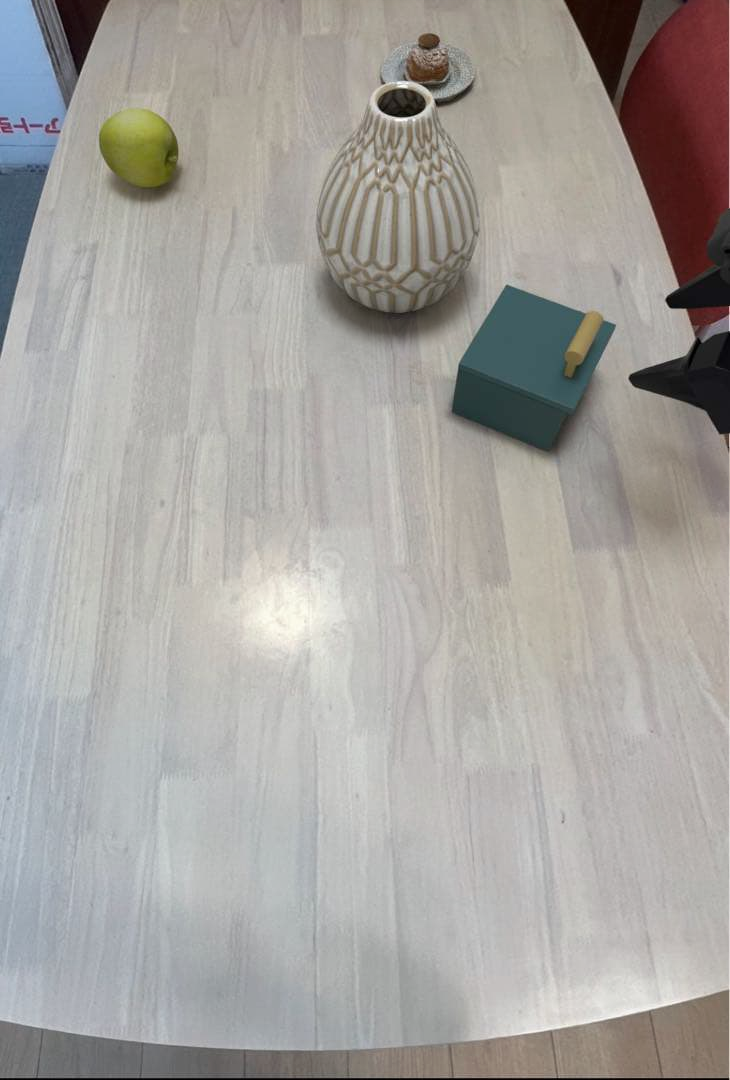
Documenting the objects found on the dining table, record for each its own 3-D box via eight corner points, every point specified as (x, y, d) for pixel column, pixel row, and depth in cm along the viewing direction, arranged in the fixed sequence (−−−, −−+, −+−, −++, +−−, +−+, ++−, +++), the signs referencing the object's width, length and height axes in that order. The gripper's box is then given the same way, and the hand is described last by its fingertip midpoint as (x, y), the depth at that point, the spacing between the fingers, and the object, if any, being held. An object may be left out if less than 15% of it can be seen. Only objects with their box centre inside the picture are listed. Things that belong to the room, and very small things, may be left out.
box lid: (614, 330, 69) (627, 296, 65) (572, 415, 64) (584, 383, 61) (505, 290, 71) (512, 255, 67) (457, 369, 67) (462, 336, 63)
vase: (335, 350, 76) (323, 176, 58) (310, 240, 83) (292, 55, 65) (487, 325, 77) (521, 147, 60) (449, 219, 84) (470, 32, 67)
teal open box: (588, 372, 74) (605, 328, 69) (548, 452, 70) (563, 411, 65) (495, 336, 77) (504, 290, 71) (451, 412, 73) (457, 369, 67)
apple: (176, 209, 86) (158, 145, 79) (103, 196, 87) (78, 131, 80) (200, 165, 89) (185, 99, 82) (129, 152, 90) (108, 86, 83)
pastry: (481, 56, 98) (486, 19, 94) (464, 114, 93) (468, 76, 89) (392, 44, 99) (393, 6, 95) (370, 100, 94) (370, 62, 90)
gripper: (862, 92, 48) (642, 187, 61) (790, 283, 41) (556, 347, 53) (911, 232, 54) (699, 293, 66) (855, 423, 46) (629, 452, 59)
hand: (649, 340), depth 61 cm, fingers open, 9 cm apart
